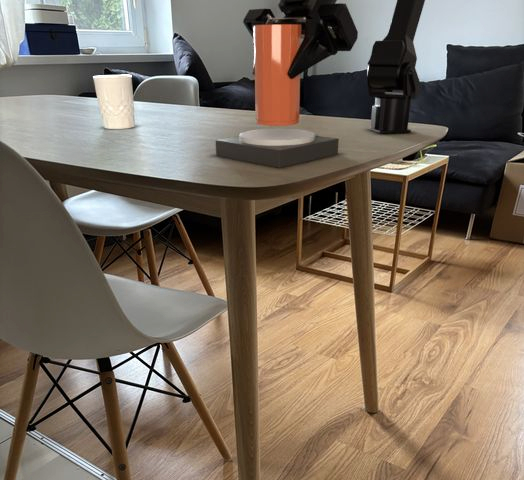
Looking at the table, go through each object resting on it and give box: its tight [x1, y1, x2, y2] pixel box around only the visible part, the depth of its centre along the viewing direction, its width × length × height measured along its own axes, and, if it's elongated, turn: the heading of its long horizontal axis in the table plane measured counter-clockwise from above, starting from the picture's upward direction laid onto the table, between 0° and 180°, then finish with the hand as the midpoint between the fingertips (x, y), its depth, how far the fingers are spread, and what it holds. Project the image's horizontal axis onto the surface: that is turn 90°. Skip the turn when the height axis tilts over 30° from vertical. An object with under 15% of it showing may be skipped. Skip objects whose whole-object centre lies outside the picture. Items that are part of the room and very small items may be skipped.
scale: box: [215, 128, 340, 169], centre depth 82 cm, size 14×14×3 cm
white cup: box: [92, 74, 136, 130], centre depth 110 cm, size 8×8×10 cm
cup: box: [253, 24, 302, 127], centre depth 77 cm, size 7×7×13 cm
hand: (271, 75), depth 76 cm, fingers closed on cup, 7 cm apart
